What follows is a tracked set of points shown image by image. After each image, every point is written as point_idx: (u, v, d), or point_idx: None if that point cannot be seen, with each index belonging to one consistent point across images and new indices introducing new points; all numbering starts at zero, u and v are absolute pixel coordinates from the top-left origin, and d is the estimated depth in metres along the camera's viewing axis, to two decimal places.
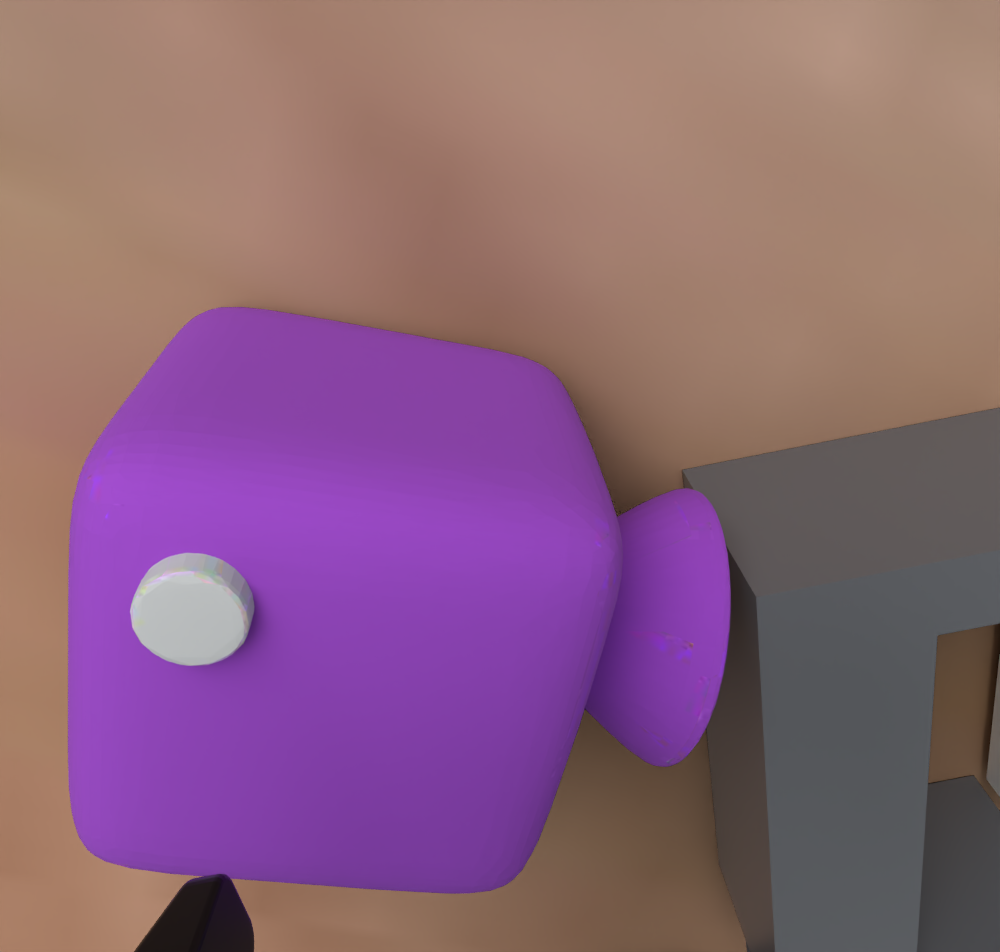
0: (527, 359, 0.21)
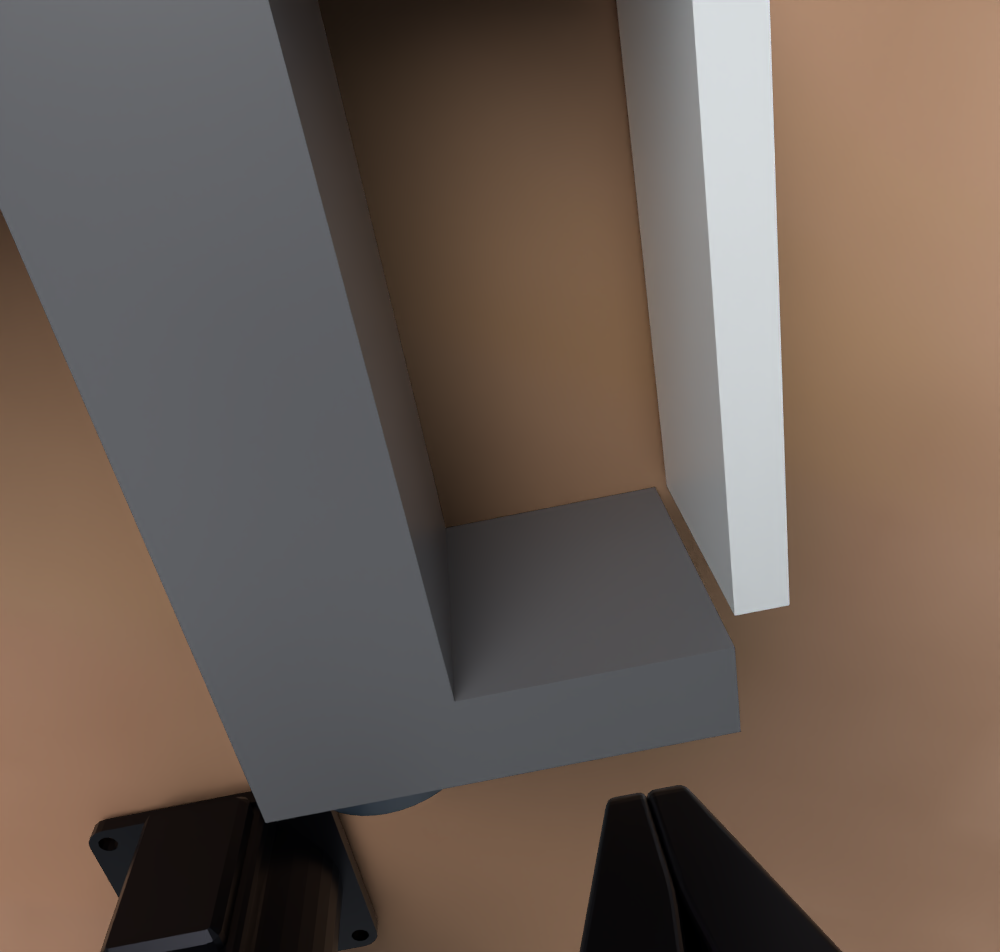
0: None
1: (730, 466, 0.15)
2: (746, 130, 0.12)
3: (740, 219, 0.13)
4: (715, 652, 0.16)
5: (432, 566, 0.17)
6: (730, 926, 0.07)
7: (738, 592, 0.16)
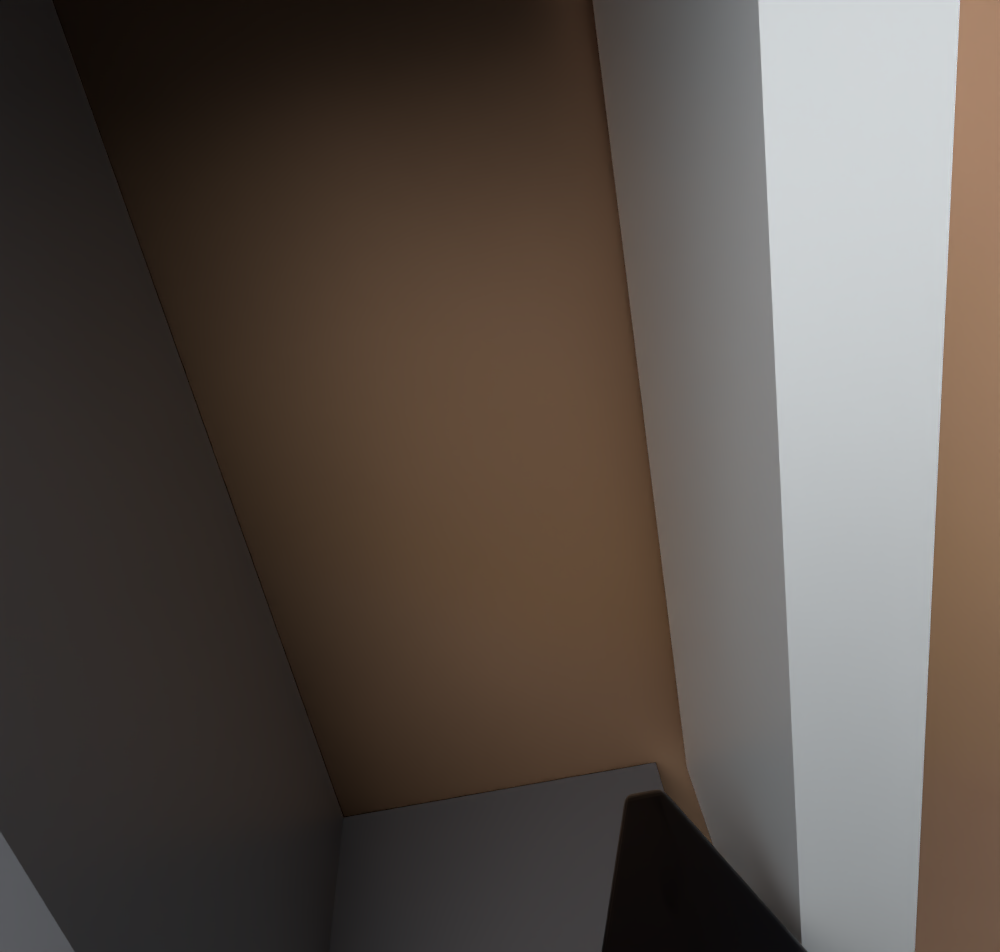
0: None
1: (816, 943, 0.08)
2: (879, 388, 0.05)
3: (856, 556, 0.06)
4: None
5: None
6: (702, 932, 0.07)
7: None
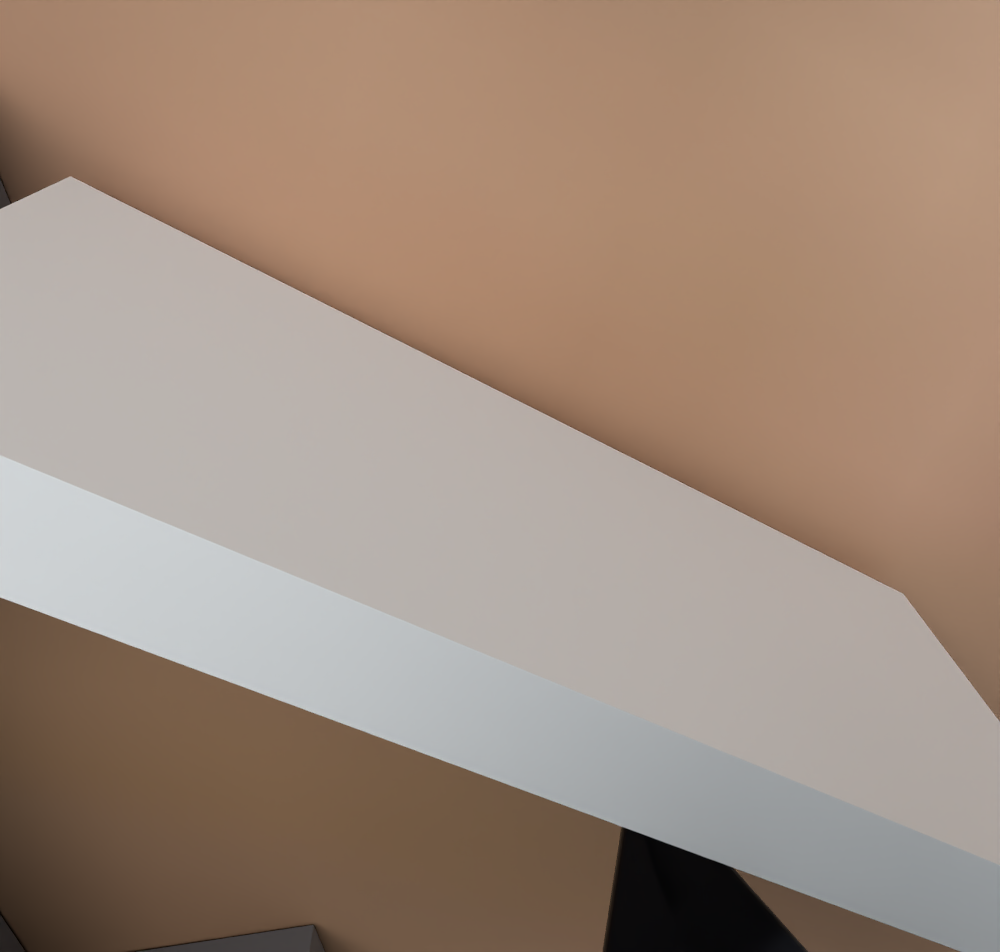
0: None
1: (821, 888, 0.07)
2: (252, 611, 0.06)
3: (408, 690, 0.06)
4: None
5: None
6: (702, 931, 0.07)
7: None
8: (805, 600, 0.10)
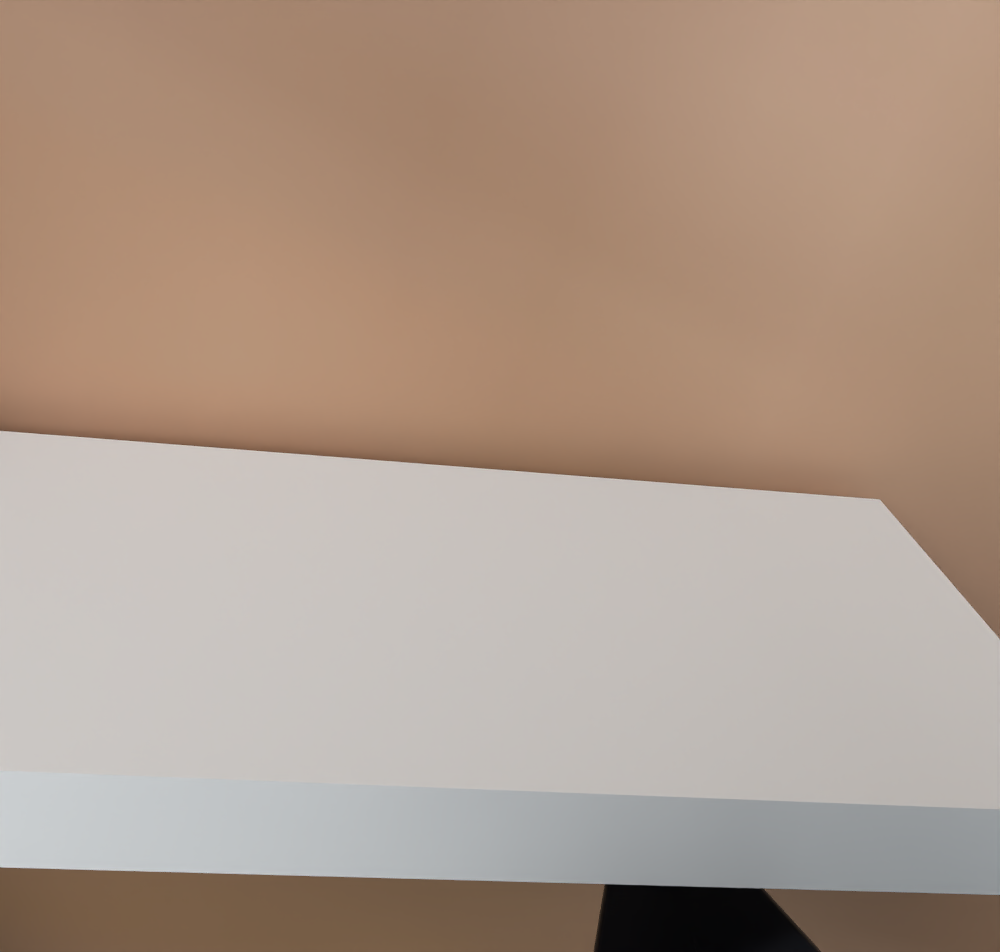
0: None
1: (753, 879, 0.07)
2: (77, 811, 0.06)
3: (246, 831, 0.07)
4: None
5: None
6: (713, 930, 0.07)
7: None
8: (733, 561, 0.10)
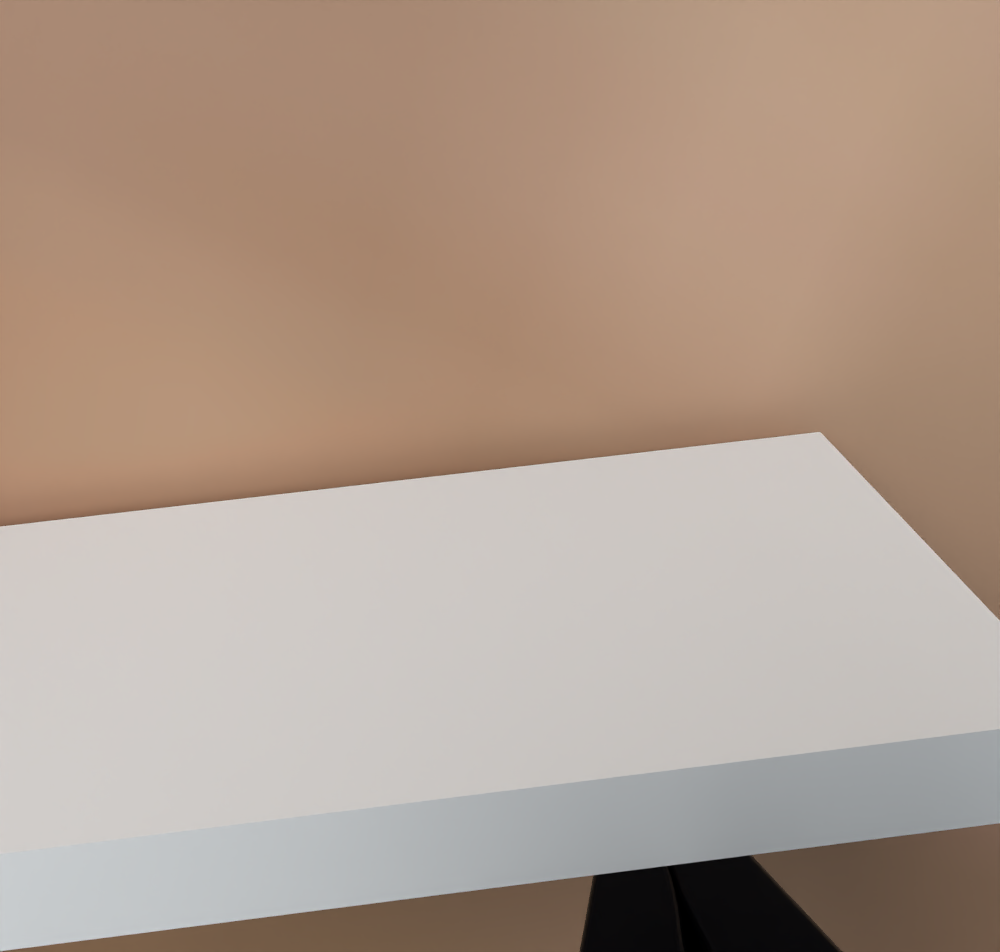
0: None
1: (674, 854, 0.07)
2: None
3: (138, 889, 0.07)
4: None
5: None
6: (730, 926, 0.07)
7: None
8: (652, 526, 0.09)
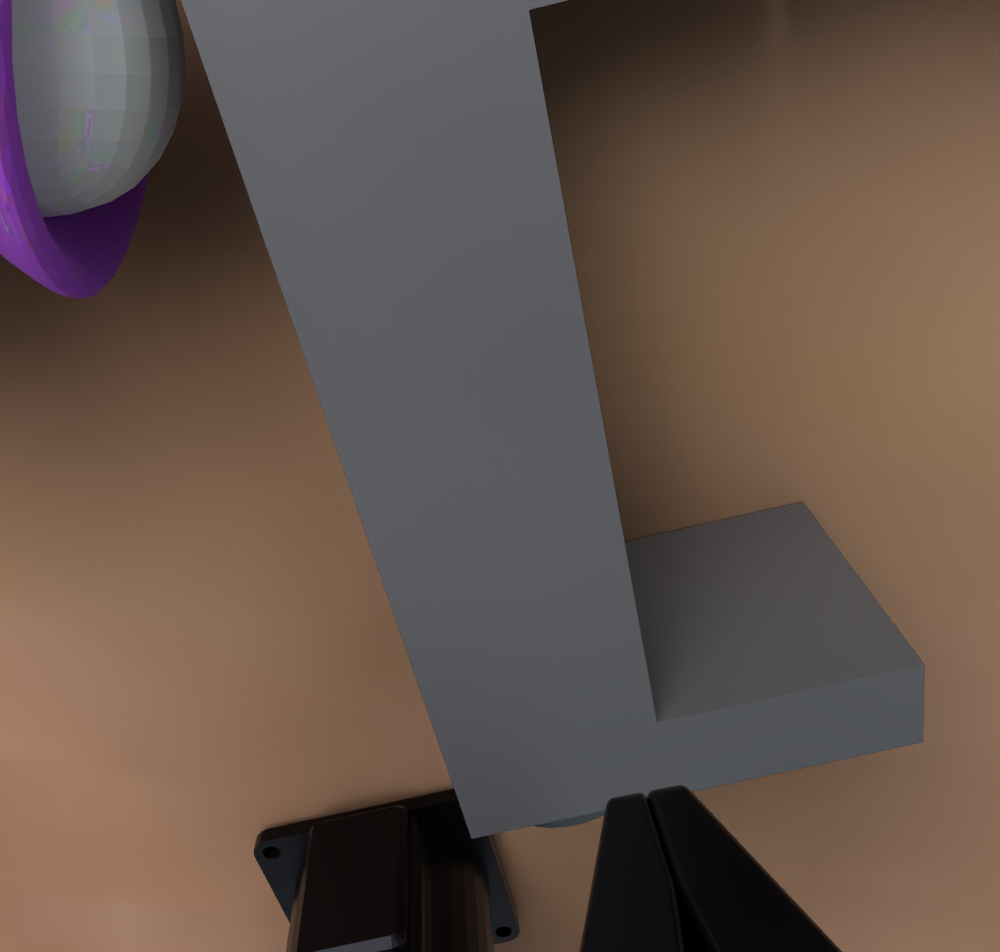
0: None
1: None
2: None
3: None
4: (904, 669, 0.17)
5: None
6: (730, 926, 0.07)
7: None
8: None
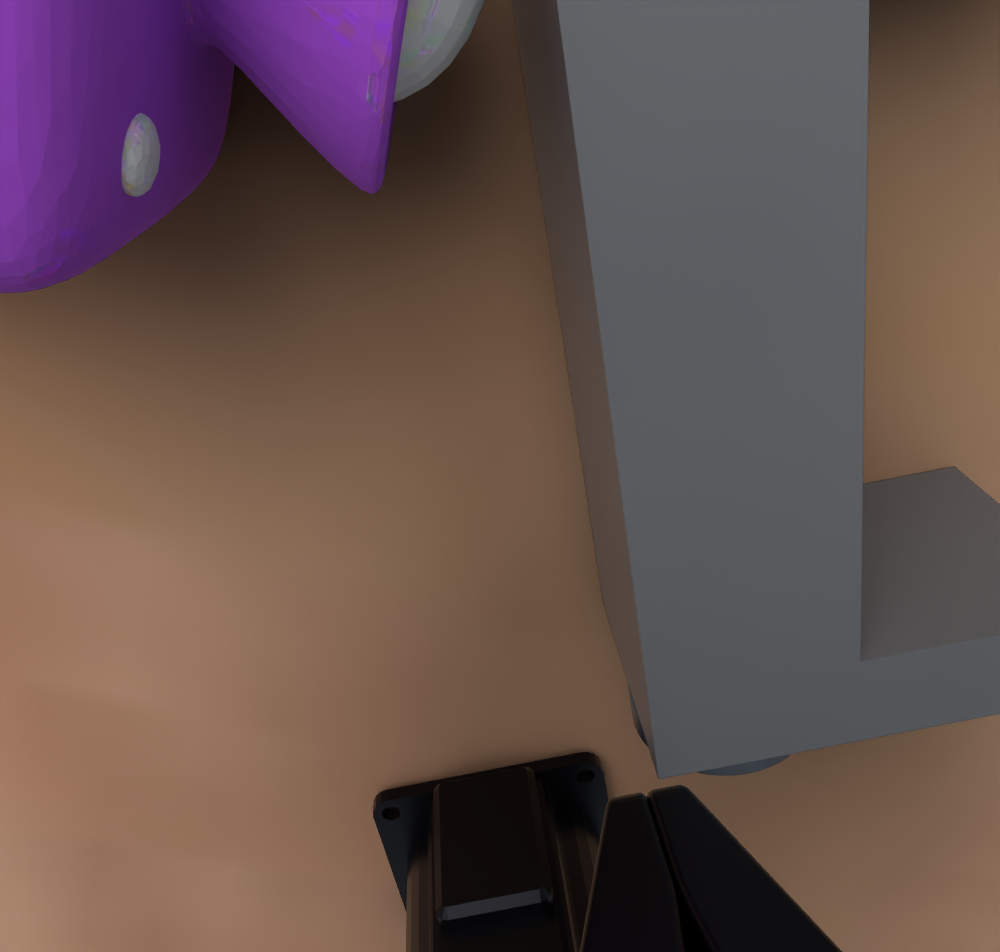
0: None
1: None
2: None
3: None
4: None
5: None
6: (730, 926, 0.07)
7: None
8: None
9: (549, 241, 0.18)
